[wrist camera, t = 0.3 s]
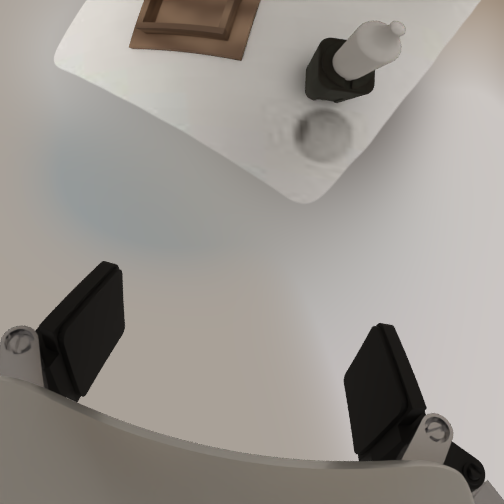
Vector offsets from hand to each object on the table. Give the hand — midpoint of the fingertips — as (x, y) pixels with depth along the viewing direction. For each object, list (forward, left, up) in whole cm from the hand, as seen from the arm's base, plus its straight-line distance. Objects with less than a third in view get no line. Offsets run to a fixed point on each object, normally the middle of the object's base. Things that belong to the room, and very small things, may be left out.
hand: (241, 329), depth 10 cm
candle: (-14, +4, -31) cm, 34 cm away
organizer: (-22, -15, -31) cm, 41 cm away
